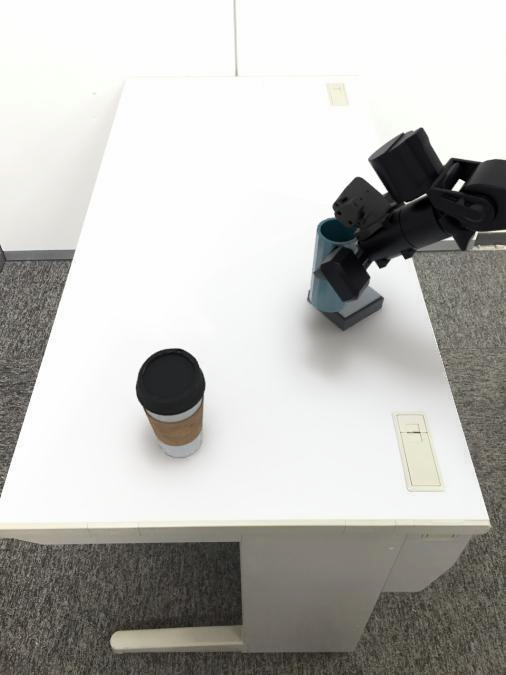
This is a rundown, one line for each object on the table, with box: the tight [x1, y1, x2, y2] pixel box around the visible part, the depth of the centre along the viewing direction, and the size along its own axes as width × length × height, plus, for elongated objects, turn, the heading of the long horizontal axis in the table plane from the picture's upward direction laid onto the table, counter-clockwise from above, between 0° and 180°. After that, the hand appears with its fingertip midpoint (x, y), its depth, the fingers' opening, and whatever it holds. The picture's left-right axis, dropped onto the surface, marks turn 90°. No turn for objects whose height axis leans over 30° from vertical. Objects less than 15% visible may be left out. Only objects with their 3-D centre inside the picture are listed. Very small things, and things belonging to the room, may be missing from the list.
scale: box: [306, 285, 385, 332], centre depth 90 cm, size 9×9×3 cm
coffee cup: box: [135, 347, 207, 459], centre depth 68 cm, size 8×8×15 cm
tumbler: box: [309, 216, 360, 312], centre depth 77 cm, size 6×6×13 cm
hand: (325, 262), depth 78 cm, fingers closed on tumbler, 6 cm apart
